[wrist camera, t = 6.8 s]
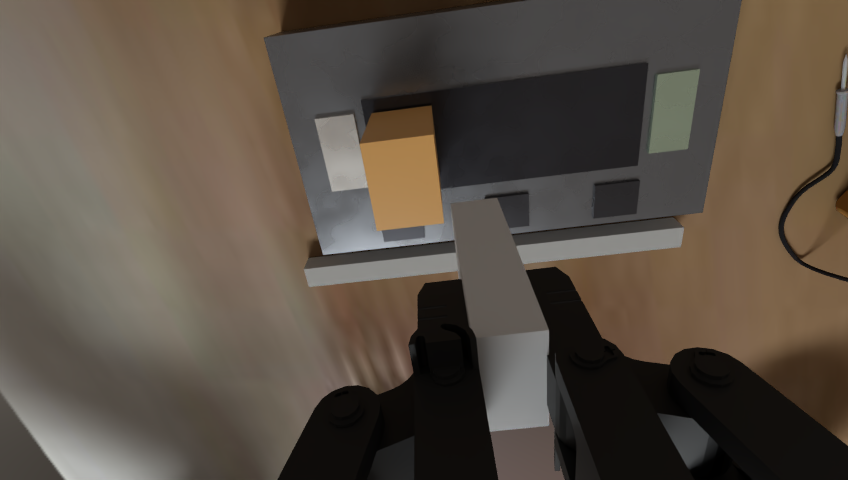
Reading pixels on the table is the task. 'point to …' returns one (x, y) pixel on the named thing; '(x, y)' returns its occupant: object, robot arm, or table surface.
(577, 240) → the light grey rod
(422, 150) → the orange rectangular block
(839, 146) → the multimeter
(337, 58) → the grey control panel
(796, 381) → the table surface
